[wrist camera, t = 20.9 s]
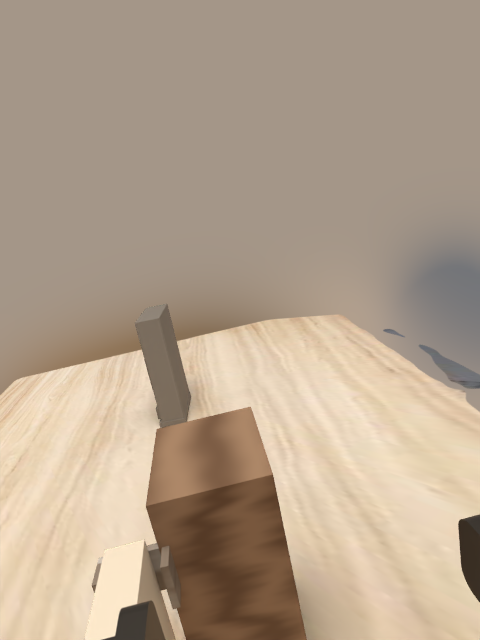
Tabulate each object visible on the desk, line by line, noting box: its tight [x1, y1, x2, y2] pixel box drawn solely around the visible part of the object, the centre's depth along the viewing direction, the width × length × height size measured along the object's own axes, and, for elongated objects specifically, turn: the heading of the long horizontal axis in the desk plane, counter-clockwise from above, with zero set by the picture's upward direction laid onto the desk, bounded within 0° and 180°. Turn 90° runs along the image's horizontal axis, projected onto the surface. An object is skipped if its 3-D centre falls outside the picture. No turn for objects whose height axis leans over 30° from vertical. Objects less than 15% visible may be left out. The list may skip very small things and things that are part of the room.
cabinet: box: [92, 407, 307, 640], centre depth 38 cm, size 15×20×24 cm
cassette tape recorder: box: [135, 304, 191, 428], centre depth 99 cm, size 14×6×25 cm, turn 2°
